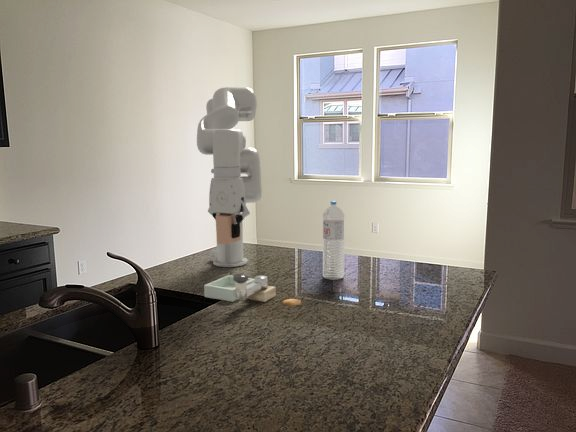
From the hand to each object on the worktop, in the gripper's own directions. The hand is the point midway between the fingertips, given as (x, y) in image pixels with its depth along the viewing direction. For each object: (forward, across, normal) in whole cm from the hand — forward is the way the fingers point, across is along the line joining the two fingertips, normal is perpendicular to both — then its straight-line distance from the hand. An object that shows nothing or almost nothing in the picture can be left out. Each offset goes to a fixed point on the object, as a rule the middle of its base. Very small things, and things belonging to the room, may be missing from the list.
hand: (229, 236), depth 142 cm
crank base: (+17, +15, +1) cm, 23 cm away
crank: (+14, +10, -4) cm, 18 cm away
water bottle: (+17, +20, +29) cm, 39 cm away
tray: (+17, 0, 0) cm, 17 cm away
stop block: (+2, 0, 0) cm, 2 cm away
